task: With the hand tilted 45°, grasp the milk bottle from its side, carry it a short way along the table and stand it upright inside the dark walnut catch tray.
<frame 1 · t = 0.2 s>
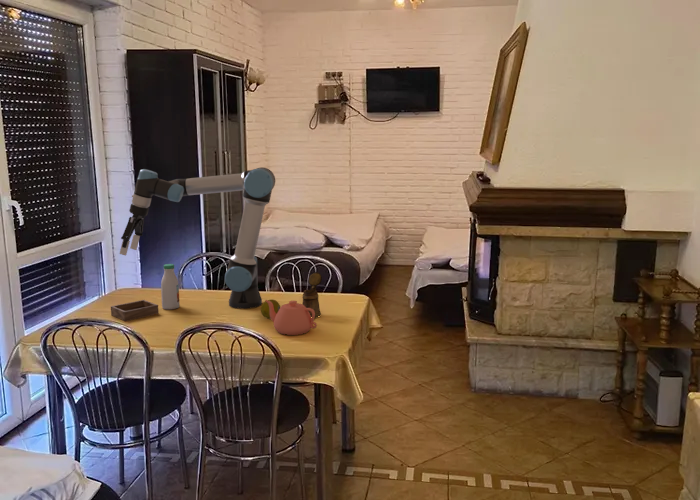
hand: (128, 251, 276), 27 cm above the table, tool tilted 15°, fingers open, 13 cm apart
catch tray: (135, 314, 278), on the table
lemon: (271, 318, 274), on the table
dark brown tall piece: (312, 314, 280), on the table
teapot: (291, 331, 257), on the table
milk bottle: (170, 307, 290), on the table
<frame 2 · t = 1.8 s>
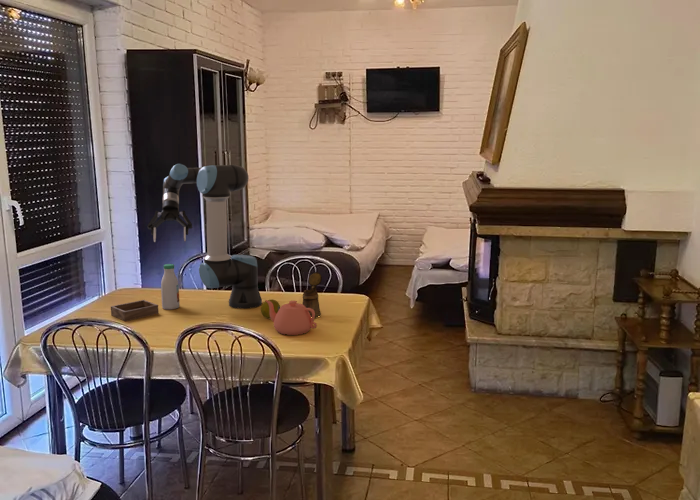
hand: (169, 240, 294), 29 cm above the table, tool tilted 45°, fingers open, 13 cm apart
nothing on the table moved.
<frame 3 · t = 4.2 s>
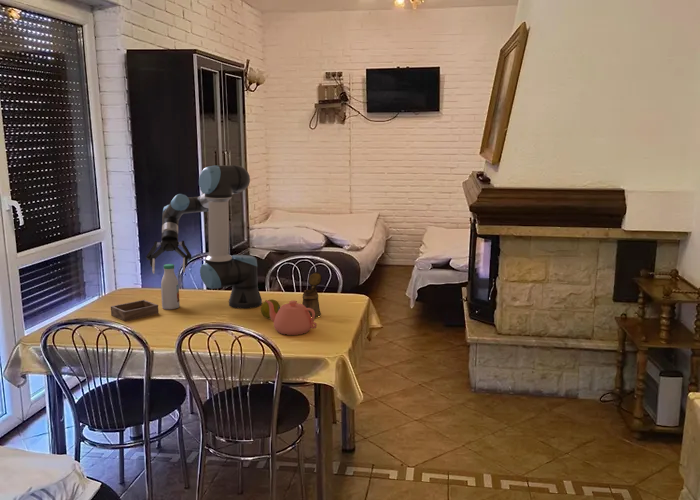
hand: (168, 271, 291), 16 cm above the table, tool tilted 45°, fingers open, 13 cm apart
nothing on the table moved.
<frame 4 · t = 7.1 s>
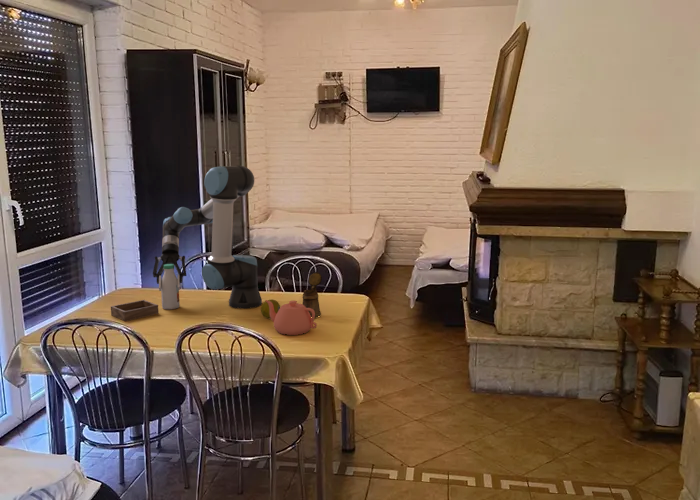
hand: (169, 288, 284), 10 cm above the table, tool tilted 45°, fingers closed on milk bottle, 7 cm apart
milk bottle: (170, 307, 290), on the table, touching gripper
everything else where it was.
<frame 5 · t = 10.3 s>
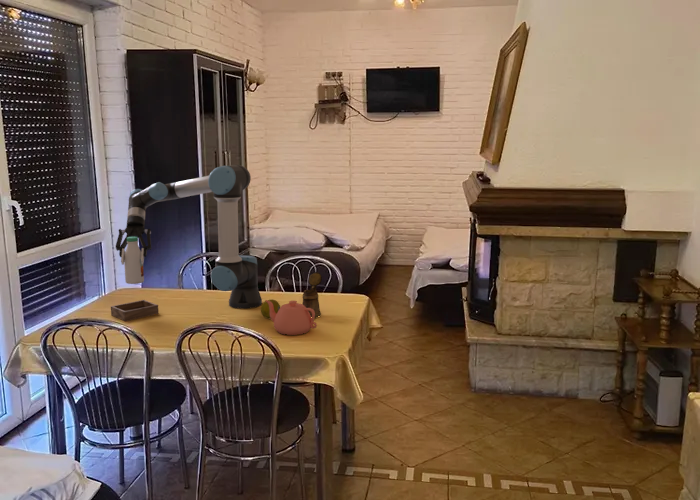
hand: (132, 262, 272), 24 cm above the table, tool tilted 45°, fingers closed on milk bottle, 7 cm apart
milk bottle: (134, 282, 277), point 14 cm above the table, touching gripper
everything else where it was.
when the fingers open (12 cm above the table, at t = 14.0 s): milk bottle drops 1 cm, resting on catch tray.
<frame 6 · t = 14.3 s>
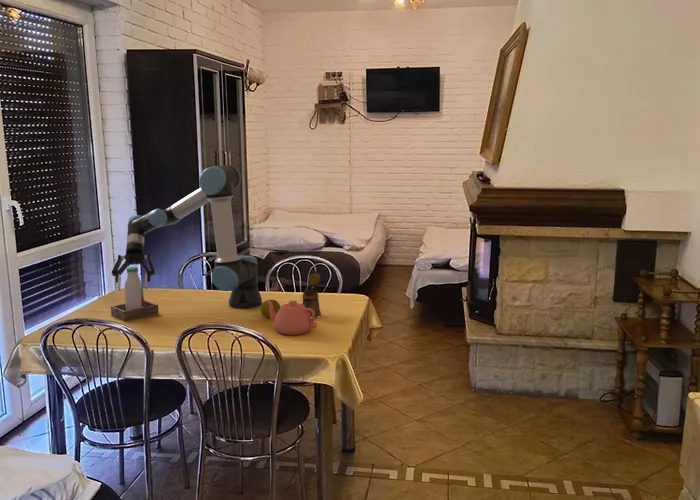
hand: (132, 288, 273), 13 cm above the table, tool tilted 45°, fingers open, 10 cm apart
milk bottle: (135, 312, 278), point 1 cm above the table, touching catch tray
everything else where it was.
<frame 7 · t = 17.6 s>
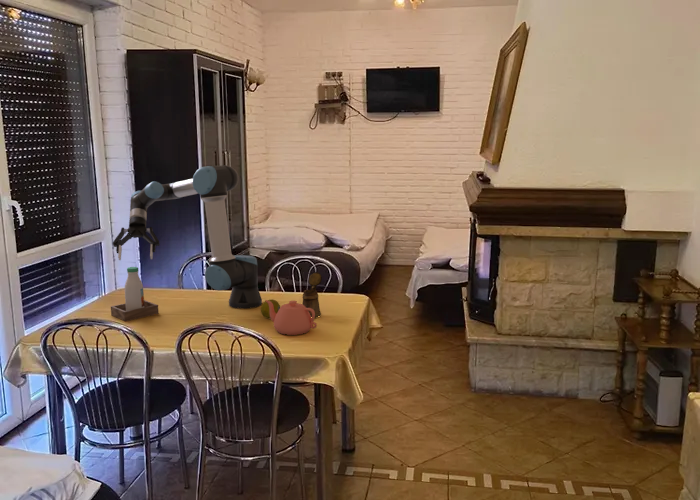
hand: (135, 258, 284), 23 cm above the table, tool tilted 45°, fingers open, 13 cm apart
nothing on the table moved.
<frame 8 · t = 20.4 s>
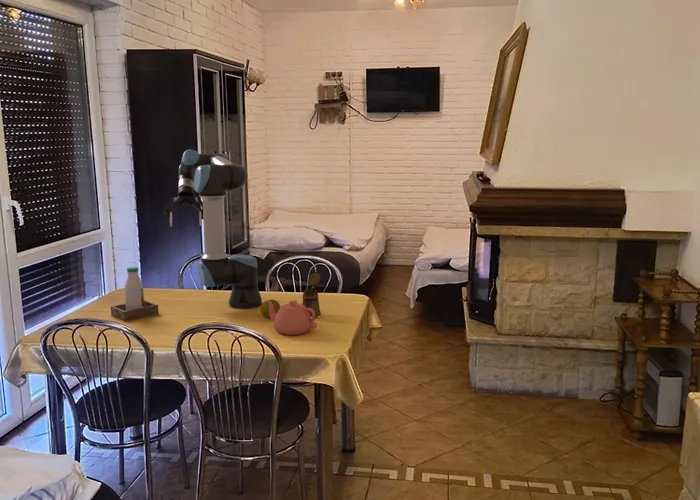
hand: (185, 224, 301), 36 cm above the table, tool tilted 45°, fingers open, 13 cm apart
nothing on the table moved.
at the end: milk bottle inside the target area on the catch tray (0.2 cm from its centre), point 0.8 cm above the catch tray's base; milk bottle tilted 0°; the gripper is holding nothing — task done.
